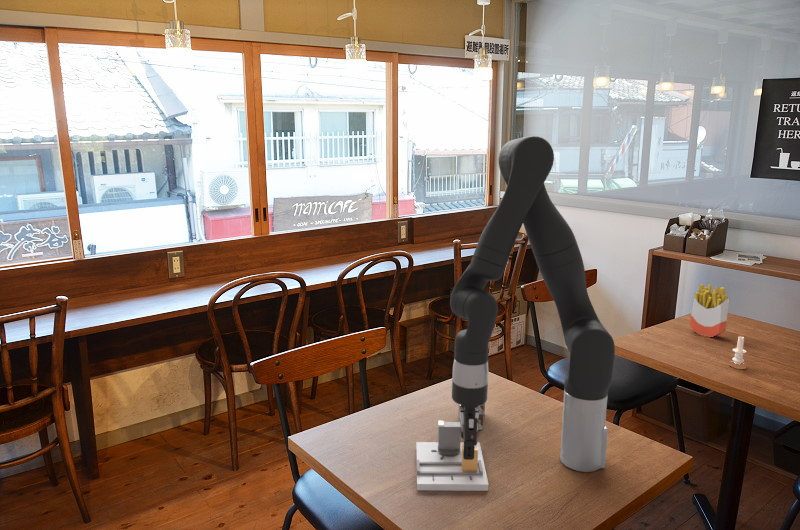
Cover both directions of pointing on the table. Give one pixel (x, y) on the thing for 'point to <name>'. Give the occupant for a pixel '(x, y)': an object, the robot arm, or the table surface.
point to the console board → (447, 470)
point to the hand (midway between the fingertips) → (467, 448)
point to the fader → (470, 461)
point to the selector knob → (449, 438)
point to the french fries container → (709, 311)
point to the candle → (739, 351)
